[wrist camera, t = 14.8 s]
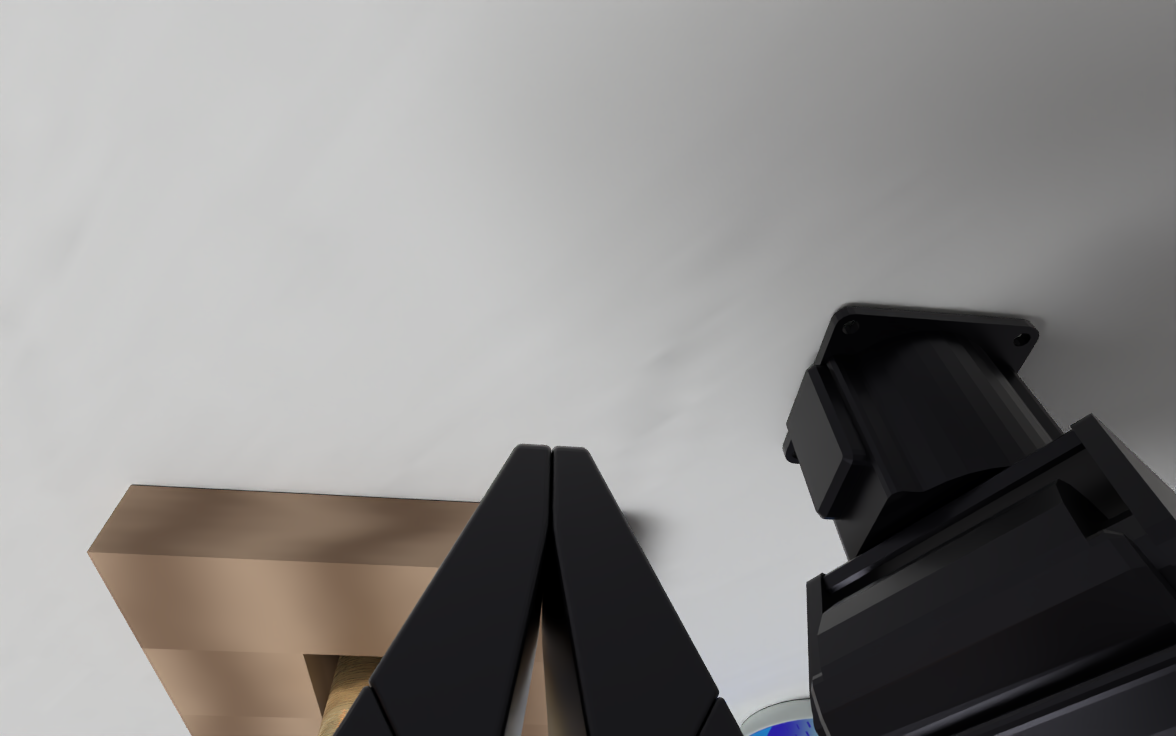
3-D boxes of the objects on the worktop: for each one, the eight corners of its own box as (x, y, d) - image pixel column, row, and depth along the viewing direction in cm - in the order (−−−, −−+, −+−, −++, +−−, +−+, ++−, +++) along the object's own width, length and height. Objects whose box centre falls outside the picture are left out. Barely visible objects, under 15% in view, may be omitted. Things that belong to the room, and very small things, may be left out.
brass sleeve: (436, 602, 31) (402, 800, 25) (439, 649, 34) (408, 840, 27) (345, 598, 31) (287, 798, 25) (355, 646, 33) (304, 838, 27)
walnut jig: (609, 509, 27) (613, 575, 25) (571, 721, 39) (571, 780, 36) (130, 485, 26) (87, 551, 24) (235, 711, 37) (212, 772, 35)
